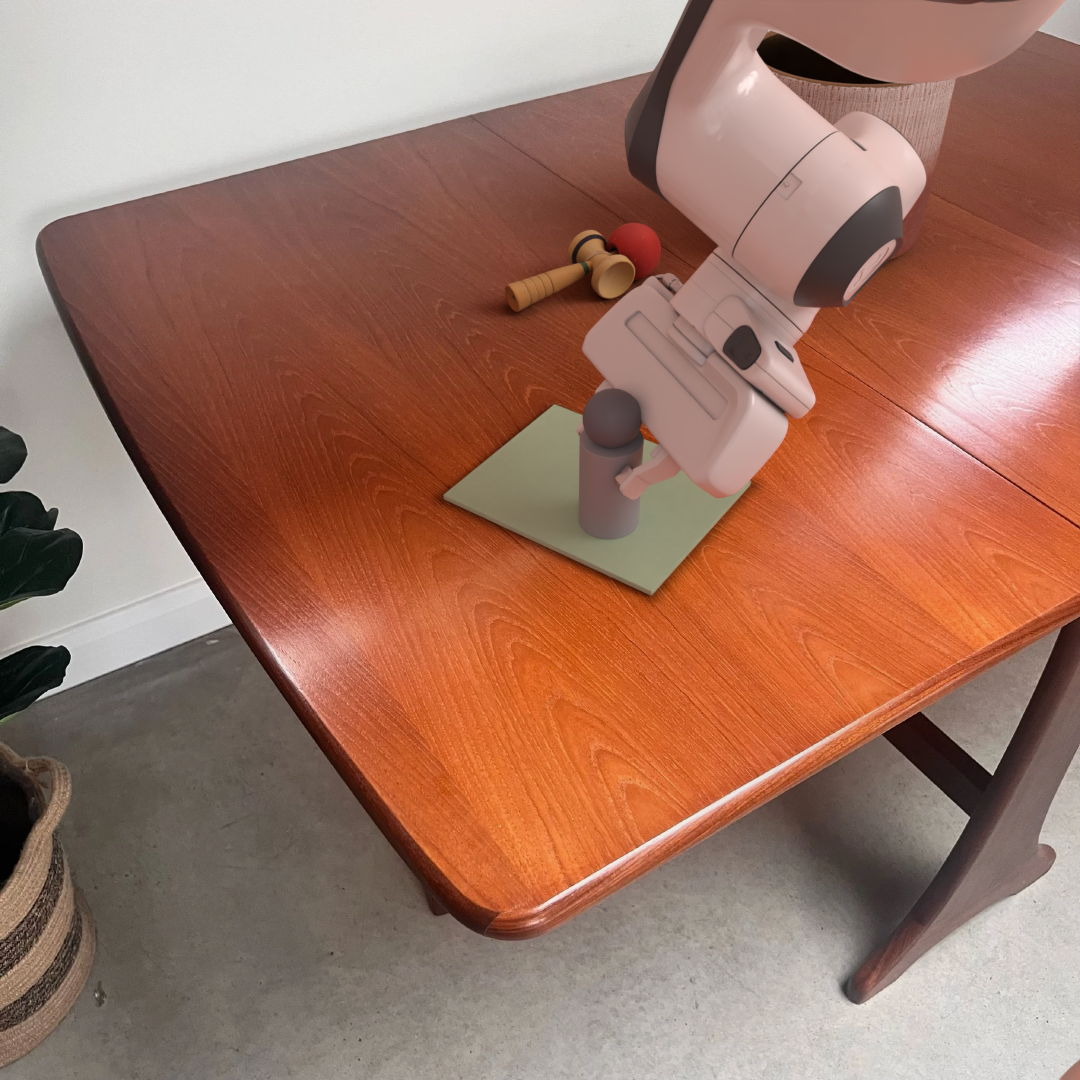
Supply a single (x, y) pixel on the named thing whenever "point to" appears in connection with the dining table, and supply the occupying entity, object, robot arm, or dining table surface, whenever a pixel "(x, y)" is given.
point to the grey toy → (608, 463)
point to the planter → (867, 106)
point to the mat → (553, 504)
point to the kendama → (595, 265)
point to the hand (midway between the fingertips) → (603, 465)
